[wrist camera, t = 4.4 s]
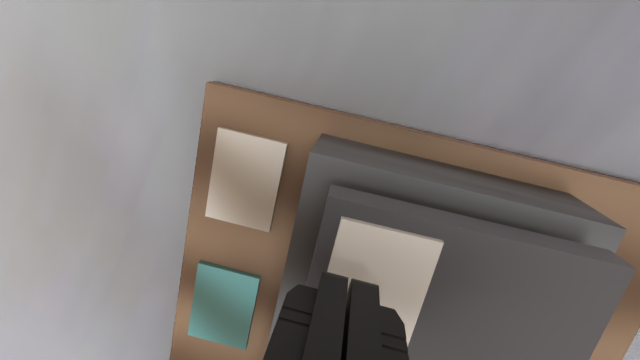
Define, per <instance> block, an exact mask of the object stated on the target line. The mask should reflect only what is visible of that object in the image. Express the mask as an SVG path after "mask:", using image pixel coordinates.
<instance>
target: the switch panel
mask: <svg viewBox="0 0 640 360" xmlns="http://www.w3.org/2000/svg"><path fill="white" fill-rule="evenodd" d="M331 184H333V185H337V186H341V187H345V188H350V189H354V190H358V191H362V192H367V193H371V194H375V195H379V196H384V197H388V198H392V199H396V200H400V201H405V202H409V203H413V204H417V205H422V206H426V207H430V208H434V209H438V210H443V211H447V212H451V213H455V214H460V215H464V216H468V217H472V218H477V219H481V220H485V221H489V222H493V223H498V224H502V225H506V226H510V227H515V228H519V229H523V230H527V231H532V232H536V233H540V234H544V235H548V236H553V237H557V238H561V239H565V240H570V241H574V242H578V243H582V244H586V245H591V246H595V247H599V248H603V249H608V250H611V251H612V252H613V253H615V254H616V255H618V256H619V257H620V258H622V259H623V260H625V261H626V262H627V263H629V264H630V265H631V266H633V267H634V268H636V271H635V273H634V275H633V277H632V279H631V281H630V283H629V285H628V287H627V288H626V290H625V292H624V294H623V296H622V298H621V300H620V302H619V304H618V306H617V308H616V309H615V311H614V313H613V315H612V317H611V319H610V321H609V323H608V325H607V327H606V329H605V330H604V332H603V334H602V336H601V338H600V340H599V342H598V344H597V346H596V348H595V350H594V351H593V353H592V355H591V357H590V359H589V360H622V359H623V357H624V355H625V353H626V352H627V350H628V348H629V346H630V344H631V342H632V341H633V339H634V337H635V335H636V333H637V332H638V330H639V328H640V183H637V182H633V181H629V180H625V179H621V178H616V177H612V176H608V175H604V174H600V173H595V172H591V171H587V170H583V169H579V168H575V167H570V166H566V165H562V164H558V163H554V162H550V161H545V160H541V159H537V158H533V157H529V156H524V155H520V154H516V153H512V152H508V151H504V150H499V149H495V148H491V147H487V146H483V145H479V144H474V143H470V142H466V141H462V140H458V139H453V138H449V137H445V136H441V135H437V134H433V133H428V132H424V131H420V130H416V129H412V128H408V127H403V126H399V125H395V124H391V123H387V122H382V121H378V120H374V119H370V118H366V117H362V116H357V115H353V114H349V113H345V112H341V111H337V110H332V109H328V108H324V107H320V106H316V105H311V104H307V103H303V102H299V101H295V100H291V99H286V98H282V97H278V96H274V95H270V94H266V93H261V92H257V91H253V90H249V89H245V88H240V87H236V86H232V85H228V84H224V83H220V82H215V81H214V82H207V83H206V91H205V98H204V106H203V113H202V121H201V128H200V136H199V143H198V151H197V158H196V166H195V173H194V181H193V189H192V196H191V204H190V211H189V219H188V226H187V234H186V241H185V249H184V256H183V264H182V271H181V279H180V286H179V294H178V301H177V309H176V316H175V324H174V332H173V339H172V347H171V354H170V360H263V358H264V355H265V352H266V349H267V346H268V344H269V341H270V338H271V335H272V333H273V330H274V327H275V324H276V321H277V319H278V316H279V313H280V310H281V308H282V305H283V302H284V299H285V297H286V294H287V292H289V291H290V290H291V289H292V288H294V287H295V286H296V285H298V284H301V285H305V286H306V283H307V279H308V275H309V271H310V267H311V263H312V259H313V255H314V250H315V246H316V242H317V238H318V234H319V230H320V226H321V222H322V218H323V213H324V209H325V205H326V201H327V197H328V193H329V189H330V185H331Z"/></svg>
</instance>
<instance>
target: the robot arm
mask: <svg viewBox="0 0 640 360" xmlns="http://www.w3.org/2000/svg"><path fill="white" fill-rule="evenodd" d="M347 289H348V291H347ZM263 360H409V355H408V347H407V342H406V332H405V325H404V323H403V321H402V320H401V318H400V316H399V315H398V313H397V312H396V310H395V309H392V308H388V307H385V306H381V305H380V296H379V285H376V284H372V283H368V282H365V281H361V280H357V279H353V278H352V279H351V281H350V284H349V288H348V277H345V276H341V275H337V274H334V273H330V272H326V271H322V274H321V277H320V281H319V285H318V289H316V288H312V287H308V286H305V285H301V284H298V285H296V286H295V287H294V288H292V289H291V290H290V291H289V292H287V294H286V297H285V299H284V302H283V305H282V308H281V310H280V313H279V316H278V319H277V321H276V324H275V327H274V330H273V333H272V335H271V338H270V341H269V344H268V346H267V349H266V352H265V355H264V358H263Z"/></svg>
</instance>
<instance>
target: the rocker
mask: <svg viewBox="0 0 640 360" xmlns="http://www.w3.org/2000/svg"><path fill="white" fill-rule="evenodd" d="M322 271H326V272H330V273H334V274H337V275H341V276H345V277H348V288H349V284H350V281H351V279H352V278H353V279H357V280H361V281H365V282H368V283H372V284H376V285H379V296H380V305H381V306H385V307H388V308H392V309H395V310H396V312H397V313H398V315H399V316H400V318H401V320H402V321H403V323H404V325H405V332H406V342H407V347H408V355H409V360H589V359H590V357H591V355H592V353H593V351H594V350H595V348H596V346H597V344H598V342H599V340H600V338H601V336H602V334H603V332H604V330H605V329H606V327H607V325H608V323H609V321H610V319H611V317H612V315H613V313H614V311H615V309H616V308H617V306H618V304H619V302H620V300H621V298H622V296H623V294H624V292H625V290H626V288H627V287H628V285H629V283H630V281H631V279H632V277H633V275H634V273H635V271H636V268H634V267H633V266H631V265H630V264H629V263H627V262H626V261H625V260H623V259H622V258H620V257H619V256H618V255H616V254H615V253H613V252H612V251H611V250H608V249H603V248H599V247H595V246H591V245H586V244H582V243H578V242H574V241H570V240H565V239H561V238H557V237H553V236H548V235H544V234H540V233H536V232H532V231H527V230H523V229H519V228H515V227H510V226H506V225H502V224H498V223H493V222H489V221H485V220H481V219H477V218H472V217H468V216H464V215H460V214H455V213H451V212H447V211H443V210H438V209H434V208H430V207H426V206H422V205H417V204H413V203H409V202H405V201H400V200H396V199H392V198H388V197H384V196H379V195H375V194H371V193H367V192H362V191H358V190H354V189H350V188H345V187H341V186H337V185H333V184H331V185H330V189H329V193H328V197H327V201H326V205H325V209H324V213H323V218H322V222H321V226H320V230H319V234H318V238H317V242H316V246H315V250H314V255H313V259H312V263H311V267H310V271H309V275H308V279H307V283H306V286H308V287H312V288H316V289H318V285H319V281H320V277H321V274H322ZM347 291H348V289H347Z"/></svg>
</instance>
